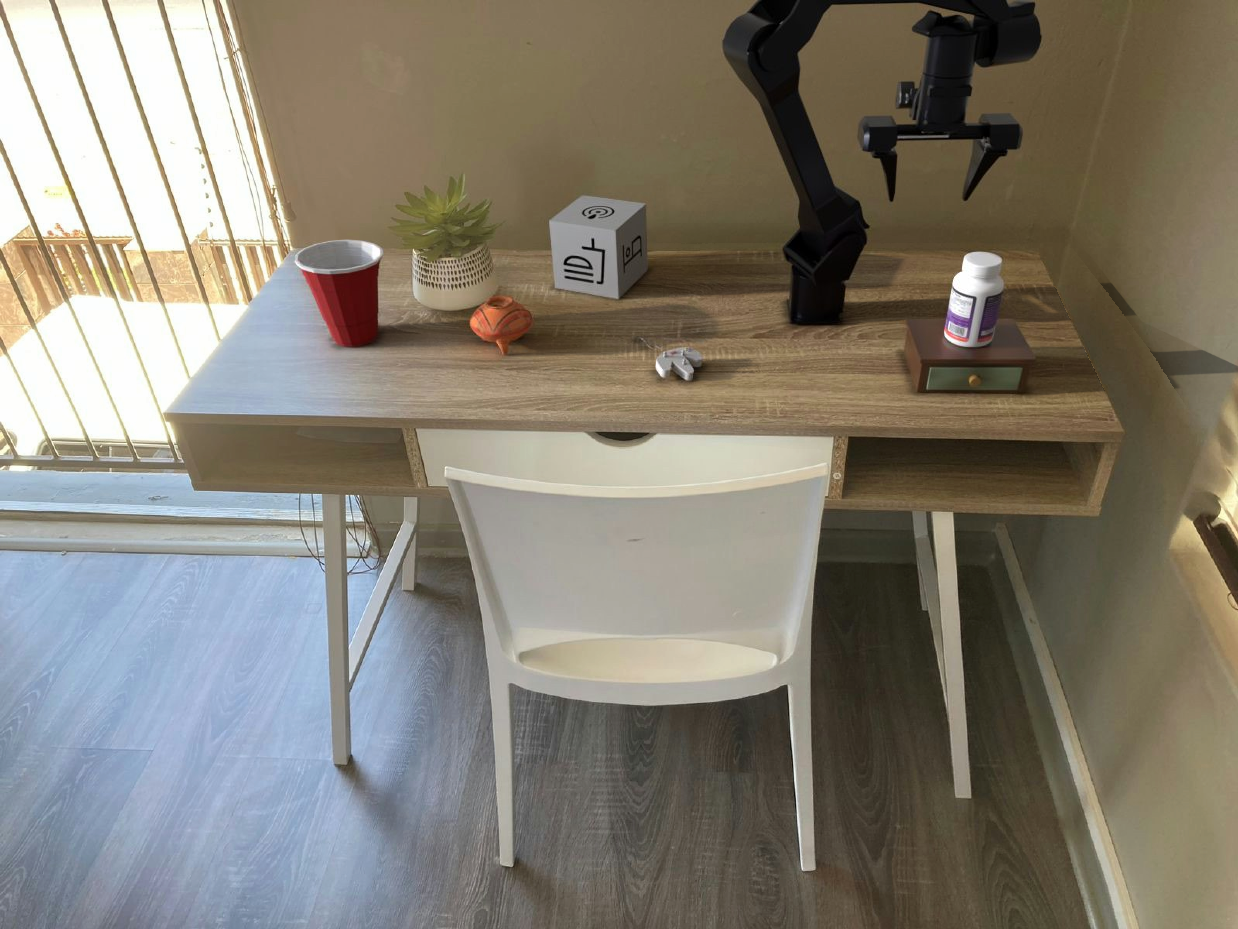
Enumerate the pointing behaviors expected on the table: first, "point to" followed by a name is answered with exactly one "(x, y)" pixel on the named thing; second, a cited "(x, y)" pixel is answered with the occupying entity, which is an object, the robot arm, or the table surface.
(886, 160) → the robot arm
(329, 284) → the plastic cup
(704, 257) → the table surface
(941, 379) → the cabinet
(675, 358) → the game controller
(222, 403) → the table surface
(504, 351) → the pot
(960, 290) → the pill bottle
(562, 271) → the icon cube
